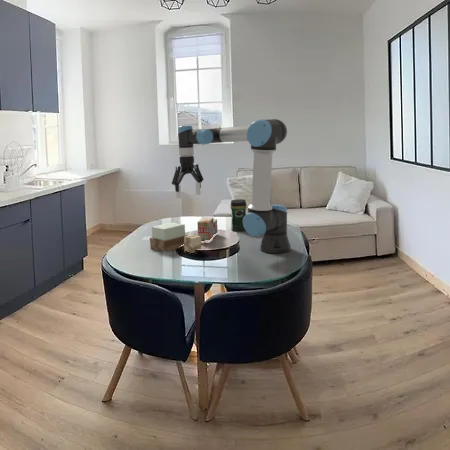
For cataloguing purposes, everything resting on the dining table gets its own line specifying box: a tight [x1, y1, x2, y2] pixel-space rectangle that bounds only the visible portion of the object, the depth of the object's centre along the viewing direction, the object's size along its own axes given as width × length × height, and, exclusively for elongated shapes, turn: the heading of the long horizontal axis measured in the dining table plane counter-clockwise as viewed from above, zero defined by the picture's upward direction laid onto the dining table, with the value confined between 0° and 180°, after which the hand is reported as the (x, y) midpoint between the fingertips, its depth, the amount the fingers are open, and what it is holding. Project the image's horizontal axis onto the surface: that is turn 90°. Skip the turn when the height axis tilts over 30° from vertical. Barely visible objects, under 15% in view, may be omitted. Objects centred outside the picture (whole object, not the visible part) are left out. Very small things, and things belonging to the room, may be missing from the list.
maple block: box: [183, 234, 202, 254], centre depth 253 cm, size 6×6×8 cm
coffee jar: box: [230, 198, 248, 232], centre depth 298 cm, size 10×8×19 cm
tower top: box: [151, 221, 186, 241], centre depth 263 cm, size 10×14×6 cm
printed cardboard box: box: [197, 216, 219, 241], centre depth 279 cm, size 21×6×12 cm, turn 168°
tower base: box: [149, 234, 189, 253], centre depth 264 cm, size 12×16×6 cm
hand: (188, 196), depth 265 cm, fingers open, 13 cm apart
